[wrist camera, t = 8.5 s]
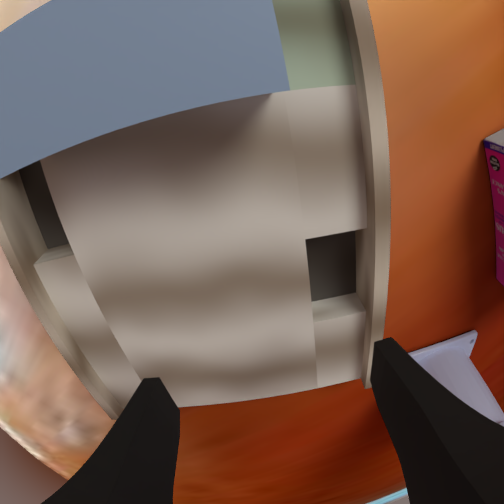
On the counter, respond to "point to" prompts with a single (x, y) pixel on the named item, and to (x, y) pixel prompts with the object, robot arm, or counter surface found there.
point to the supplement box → (497, 193)
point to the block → (127, 67)
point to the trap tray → (221, 232)
